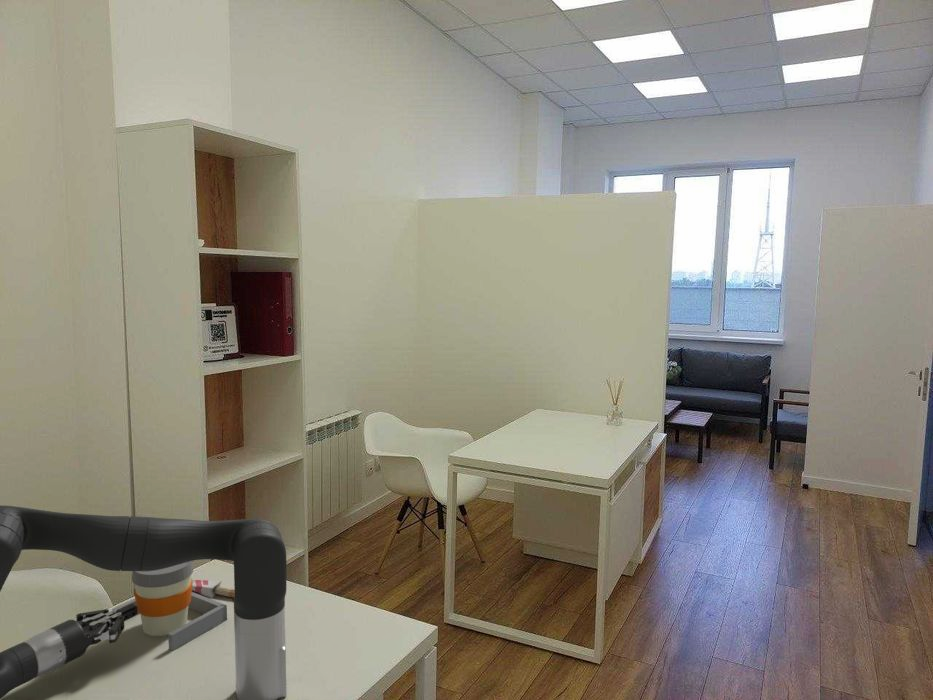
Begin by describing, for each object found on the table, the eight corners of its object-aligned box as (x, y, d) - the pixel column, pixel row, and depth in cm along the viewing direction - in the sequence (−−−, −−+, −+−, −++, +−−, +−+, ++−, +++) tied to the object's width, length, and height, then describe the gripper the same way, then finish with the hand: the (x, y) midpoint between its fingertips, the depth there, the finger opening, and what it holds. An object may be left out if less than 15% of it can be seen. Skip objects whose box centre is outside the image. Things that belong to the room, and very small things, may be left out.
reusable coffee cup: (189, 605, 159) (187, 545, 157) (200, 630, 149) (198, 567, 147) (131, 619, 153) (128, 557, 151) (138, 647, 142) (134, 580, 140)
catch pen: (172, 650, 141) (171, 635, 141) (113, 623, 151) (112, 608, 151) (227, 619, 154) (226, 605, 153) (168, 596, 163) (168, 582, 163)
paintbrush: (188, 573, 169) (257, 589, 164) (188, 583, 170) (257, 599, 164) (178, 580, 165) (248, 596, 160) (178, 590, 166) (248, 607, 160)
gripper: (71, 640, 125) (154, 600, 140) (32, 620, 132) (115, 584, 147) (74, 677, 126) (155, 634, 141) (35, 655, 133) (117, 616, 148)
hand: (135, 608), depth 144 cm, fingers closed
